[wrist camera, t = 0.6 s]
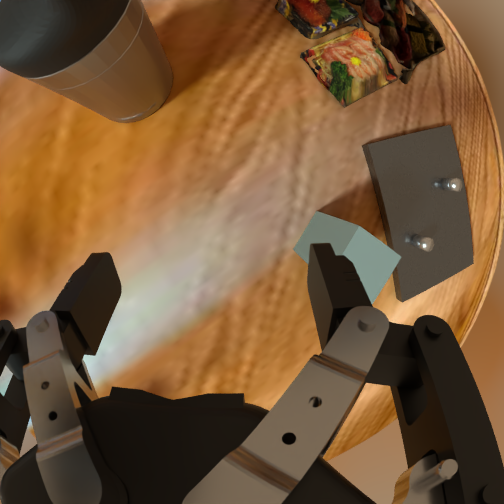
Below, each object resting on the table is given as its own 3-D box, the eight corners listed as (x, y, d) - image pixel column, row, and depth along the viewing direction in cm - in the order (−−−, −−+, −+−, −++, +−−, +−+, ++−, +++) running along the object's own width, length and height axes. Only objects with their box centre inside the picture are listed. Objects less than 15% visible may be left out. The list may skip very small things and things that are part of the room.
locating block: (293, 249, 33) (325, 281, 23) (316, 210, 33) (359, 225, 22) (328, 270, 34) (369, 307, 24) (350, 233, 34) (401, 256, 23)
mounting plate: (361, 145, 31) (378, 142, 27) (443, 126, 32) (462, 123, 28) (396, 298, 36) (412, 309, 32) (467, 260, 37) (484, 268, 33)
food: (374, -32, 25) (384, -43, 22) (446, 66, 30) (461, 61, 27) (250, 3, 26) (254, -12, 23) (340, 123, 31) (353, 118, 28)
